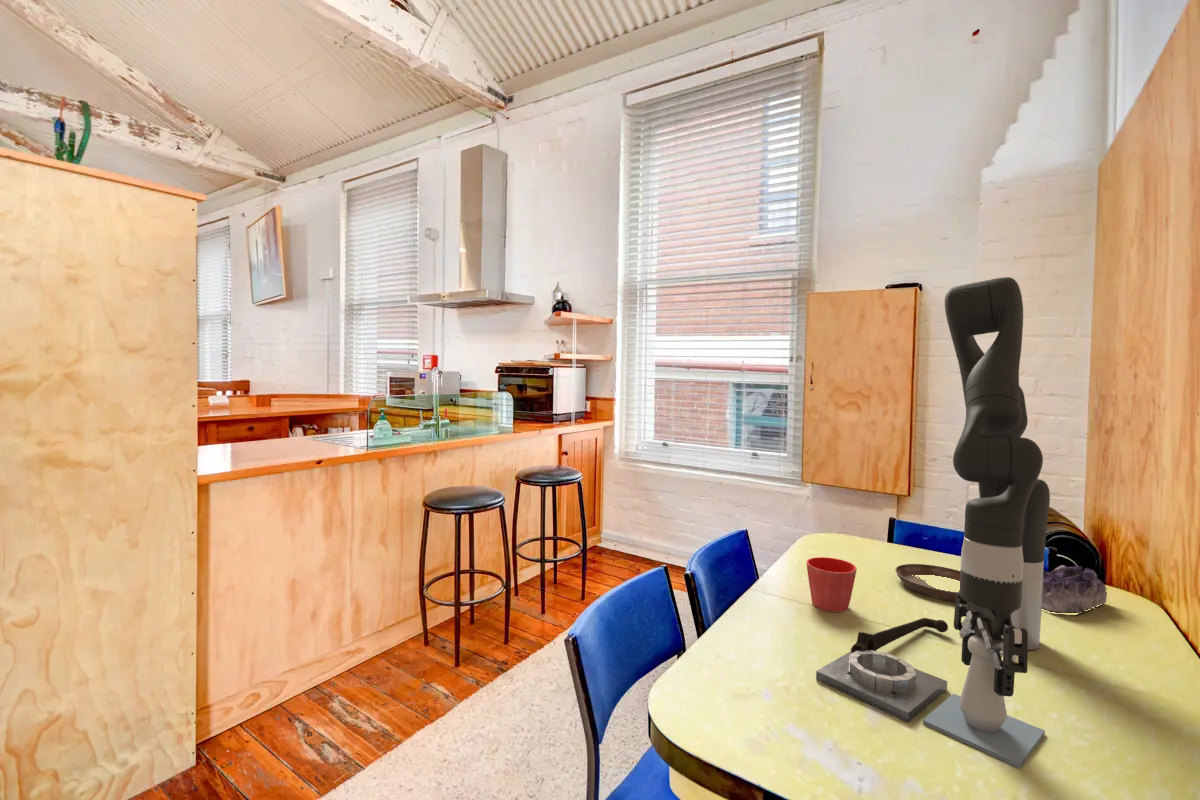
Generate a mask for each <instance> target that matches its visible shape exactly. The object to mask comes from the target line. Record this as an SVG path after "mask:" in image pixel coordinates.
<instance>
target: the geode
mask: <svg viewBox="0 0 1200 800" xmlns="http://www.w3.org/2000/svg"><path fill="white" fill-rule="evenodd" d="M1107 590H1108V588H1107V587H1106V585H1105V584H1104V582H1103V581H1102V580H1101V579H1099V578H1098V575H1097V573H1096V572H1095V570H1093V569H1091V568H1088V567H1086V568H1084V567H1083V566H1082V565H1081V566H1080V565H1079V566H1078V565H1077V566H1066V565H1065V564H1064V565H1063V564H1061V565H1059V566H1057V567H1056V568H1054V569H1053V570H1051V571H1048V572H1047V571H1046V570H1045V569H1043V589H1042V609H1044V610H1047V611H1049V612H1055V613H1080V612H1084V611H1085V610H1088V609H1091V610H1093V609H1092V607H1094V608H1095V607H1096V606H1097V605H1100V604H1102V605H1104V604H1103V603H1105V602H1106V603H1107V597H1108V591H1107ZM1106 603H1105V604H1106ZM1095 609H1096V608H1095ZM1084 613H1085V612H1084Z"/></svg>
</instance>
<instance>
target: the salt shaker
mask: <svg viewBox="0 0 1200 800" xmlns="http://www.w3.org/2000/svg"><path fill="white" fill-rule="evenodd" d="M994 644H996V645H1001V644H998V643H994ZM968 649H969V651H970V652H971V653H972V658H971V662H970V665H968V670H967V673H966V676H965V681H964V684H963V688H962V691H961V695H960V696H961V697H960V701H959V706H960V708H961V710H962V712H963V715H964V718H965V721H966V723H967V724H968V725H970V726H972V727H973V728H975V729H976V730H978V731H983V732H987V733H992V734H993V733H994V732H996V731H997V730H999V728H1000V727H1001V725H1002V724H1003V723H1004V721H1005V720H1006V717H1007V715H1008V714H1007V708H1006V703H1005V696H999V695H997V694H996V693H995V692H994V672H995V667H996V666H995V663H994V659H993V656H992V653H990V652H989V651H988V650H987V648H986V645H985V641H984V640H983V639H982V638H981V636H978V635H973V636H971V637H970V638H969V640H968ZM1000 656H1001V659H1003V653H1000Z"/></svg>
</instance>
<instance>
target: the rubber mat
mask: <svg viewBox="0 0 1200 800" xmlns="http://www.w3.org/2000/svg"><path fill="white" fill-rule="evenodd" d="M960 697H961V695H958V694H956V693H953V694H951V695H950V696H949V697H948V698H947V699H945V700H944V701H943V702H942V703H941V704H940V705H938V706H937V708H935V709H934V710H932V712H930V713H929V714H928V715H927V716H926V717H924V719H922V724H923V725H924V726H927V727H928V728H932V729H934V730H935V731H938V732H939V733H942V734H944V735H947V736H948V737H951V738H953V739H955V740H957V741H959V742H962V743H964V744H966V745H968V746H970V747H972V748H975V749H976V750H979V751H981V752H983V753H985V754H988V755H989V756H992V757H994V758H995V759H998V760H999V761H1003V762H1005V763H1006V764H1009V765H1011V766H1013V767H1015V768H1018V769H1020V768H1021V767H1022V766H1023V764H1024V763H1025V762H1026V761H1027V760H1028V757H1030V755H1031V754H1032V753H1033V751H1034V750H1035V749H1036V747H1037V746H1038V745H1039V743H1040V741H1041V740H1042V739H1043V737H1044V736H1045V735H1046V730H1045V729H1043V728H1040V727H1037V726H1035V725H1033V724H1030V723H1028V722H1025V721H1022V720H1020V719H1018V718H1015V717H1013V716H1010V715H1008V714H1007V717H1006V720H1005V721H1004V723H1003V724H1002V725H1001V727H1000V728H999V730H997V731H996V732H994V733H993V734H992V733H987V732H983V731H978V730H976V729H975V728H973V727H972V726H970V725H968V724H967V723H966V721H965V718H964V715H963V712H962V710H961V708H960V706H959V701H960Z"/></svg>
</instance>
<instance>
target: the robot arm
mask: <svg viewBox="0 0 1200 800" xmlns="http://www.w3.org/2000/svg"><path fill="white" fill-rule="evenodd" d="M944 309H945V310H944V311H945V317H946V321H947V326H948V329H949V333H950V337H951V341H952V343H953V347H954V351H955V356H956V358H957V363H958V368H959V371H960V372H959V373H960V377H961V383H962V392H963V397H964V399H963V400H964V404H965V405H964V406H965V421H964V426H963V429H962V432H961V434H960V437H959V438H958V439H959V440H958V442H957V444H956V446H955V449H954V452H953V457H952V464H953V468H954V470H955V473H957V475H958V476H959V477H960V478H962V479H963V480H964V481H966V482H971V483H978V494H979V498H977V497H976V498H973V499H970V500H968V501H967V503H966V505H965V509H964V532H963V534H964V535H963V542H962V546H961V552H960V553H961V554H960V570H959V571H960V590H959V593H957V594H956V601H954V604H955V605H954V613H953V614H954V616H953V617H954V618H953V628H954V629H955V630H956V631H959V633H958V634H959V637H960V639H962V640H961V641H962V642H961V659H960V661H961V662H962V664H964V665H965V666H970V662H971V658H972V653H971V652H970V651H969V649H968V640H969V638H970V637H971V636H973V635H978V636H981V638H982V639H983V640H984V641H985V645H986V648H987V650H988V651H989V652H990V653H992V656H993V659H994V663H995V666H996V667H995V672H994V692H995V693H996V694H997V695H999V696H1004V697H1012V696H1014V691H1015V690H1014V689H1015V688H1014V687H1015V673H1018V674H1027V673H1028V659H1029V658H1028V655H1029V654H1028V651H1033V650H1037V649H1039V648H1040V644H1041V643H1040V639H1041V626H1042V624H1041V623H1042V610H1041V609H1042V589H1043V570H1044V569H1045V568H1044V567H1045V566H1044V565H1045V564H1044V563H1045V549H1046V539H1047V529H1048V528H1047V527H1048V518H1049V512H1050V502H1051V493H1050V488H1049V486H1048V484H1047V482H1045V480H1043V479H1039V477H1040V474H1041V471H1042V467H1043V462H1044V457H1043V454H1042V453H1043V452H1042V451H1041V448H1040V447H1039V445H1038V444H1037V443H1036V442H1035V441H1034V440H1032V439H1030V438H1027V437H1022V436H1023V434H1024V433H1025V431H1026V428H1027V426H1028V423H1029V422H1028V420H1029V419H1028V413H1027V405H1026V399H1025V394H1024V393H1025V392H1024V391H1023V389H1022V387H1021V385H1020V365H1021V364H1020V362H1021V357H1022V356H1021V355H1022V354H1021V353H1022V345H1023V329H1024V303H1023V296H1022V291H1021V288H1020V286H1019V283H1018V282H1017V280H1015V279H1014V278H1013V277H1010V276H1009V277H1007V276H1005V277H997V278H991V279H987V280H983V281H977V282H971V283H965V284H961V285H956V286H953V287H950V288H949V289H948V290H947V291H946V293H945V296H944ZM996 332H997V335H996V338H995V339H994V341H993V342H992V344H991V345H990V347H989V348H988V349H987V350H986V352H984V351H983V350H982V349H981V347H980V345H979V344H978V342H977V341H976V340H977V339H976V338H975V337H974V336H980V335H984V334H992V333H996ZM963 617H964V619H963V621H962V618H963ZM994 643H998V644H1001V645H996V644H994ZM1000 653H1003V656H1002V658H1001V656H1000ZM1016 656H1018V657H1016ZM1017 659H1018V660H1017Z"/></svg>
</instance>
